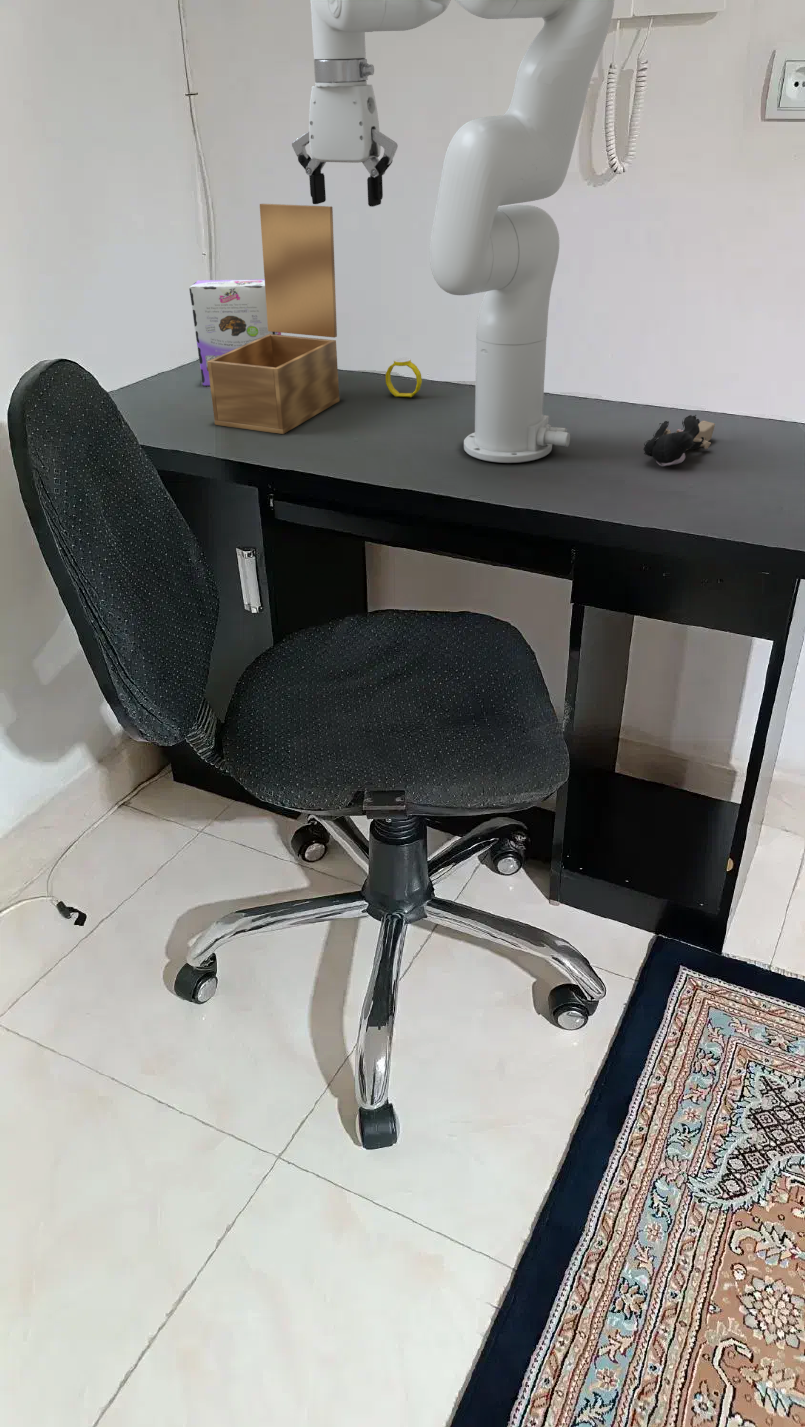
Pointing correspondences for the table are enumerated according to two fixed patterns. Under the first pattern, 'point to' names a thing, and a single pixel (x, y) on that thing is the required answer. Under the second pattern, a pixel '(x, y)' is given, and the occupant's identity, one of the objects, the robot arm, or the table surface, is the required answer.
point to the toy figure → (678, 441)
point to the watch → (418, 375)
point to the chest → (274, 382)
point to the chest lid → (299, 269)
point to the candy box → (227, 317)
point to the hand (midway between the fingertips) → (346, 204)
